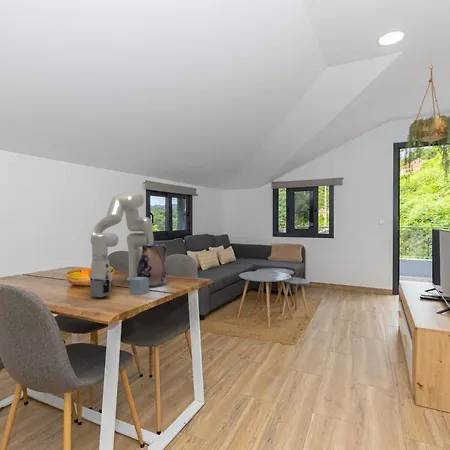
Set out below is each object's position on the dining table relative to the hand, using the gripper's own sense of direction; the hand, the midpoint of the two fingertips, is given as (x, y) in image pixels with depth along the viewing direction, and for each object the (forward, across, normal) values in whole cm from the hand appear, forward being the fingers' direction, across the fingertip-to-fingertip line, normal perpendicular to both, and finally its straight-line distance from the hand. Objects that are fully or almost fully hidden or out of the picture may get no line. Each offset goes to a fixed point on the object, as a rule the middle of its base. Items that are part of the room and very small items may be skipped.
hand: (100, 291), depth 162 cm
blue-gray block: (+3, -12, -16) cm, 20 cm away
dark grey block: (+2, 0, 0) cm, 2 cm away
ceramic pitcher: (+3, -6, -36) cm, 37 cm away
